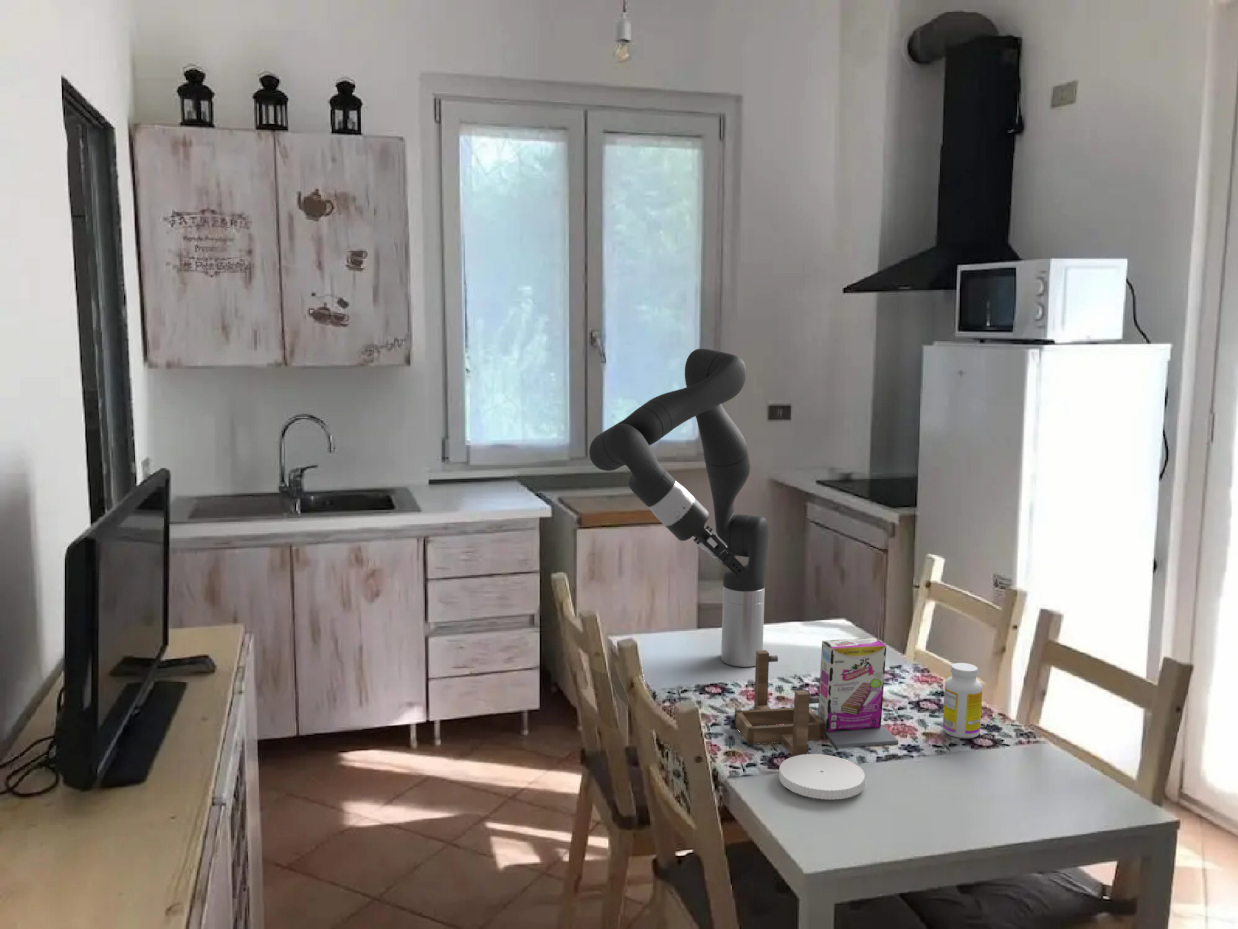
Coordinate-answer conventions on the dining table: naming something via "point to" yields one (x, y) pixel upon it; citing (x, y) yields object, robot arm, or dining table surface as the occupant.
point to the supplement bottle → (962, 702)
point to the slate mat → (860, 737)
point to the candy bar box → (851, 684)
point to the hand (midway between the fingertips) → (736, 568)
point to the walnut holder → (779, 715)
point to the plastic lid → (822, 776)
